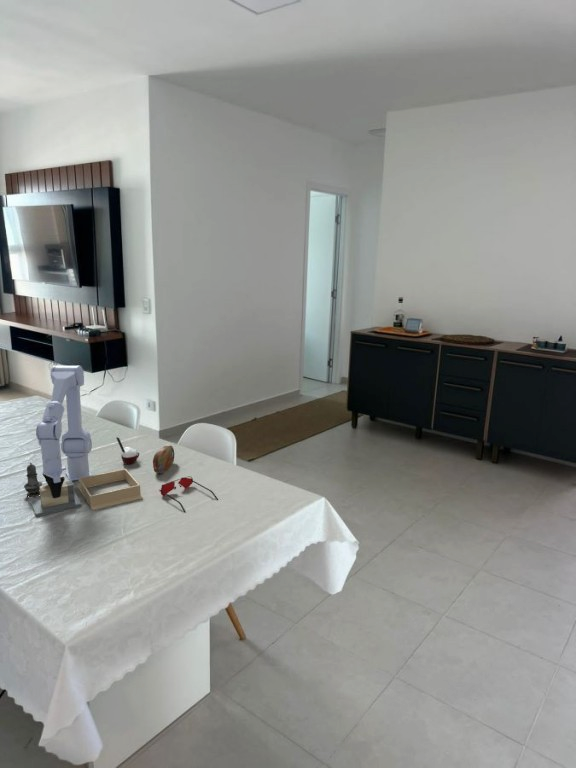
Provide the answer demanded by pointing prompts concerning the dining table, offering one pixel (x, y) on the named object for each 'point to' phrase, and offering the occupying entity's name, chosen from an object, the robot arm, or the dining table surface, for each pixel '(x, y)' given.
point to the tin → (163, 459)
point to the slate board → (54, 507)
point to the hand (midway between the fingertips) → (55, 494)
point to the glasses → (183, 482)
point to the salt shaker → (32, 482)
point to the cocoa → (128, 454)
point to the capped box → (65, 496)
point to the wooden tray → (111, 496)
